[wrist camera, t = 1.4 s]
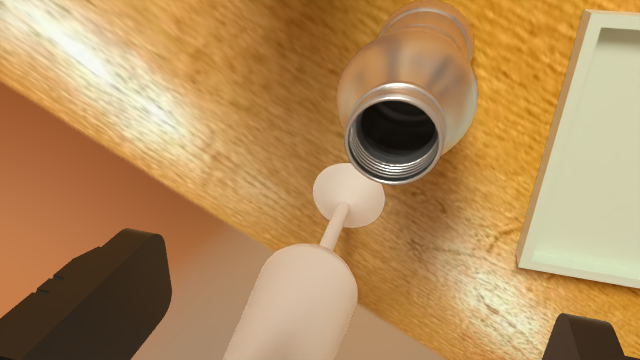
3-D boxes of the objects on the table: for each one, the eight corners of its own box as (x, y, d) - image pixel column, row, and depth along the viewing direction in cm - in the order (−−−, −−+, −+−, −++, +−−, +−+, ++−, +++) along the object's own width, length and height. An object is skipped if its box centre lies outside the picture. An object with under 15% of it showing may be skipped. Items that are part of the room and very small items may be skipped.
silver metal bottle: (481, 71, 34) (506, 201, 17) (393, 95, 37) (337, 230, 19) (461, -18, 32) (467, 26, 15) (369, 14, 34) (281, 85, 17)
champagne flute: (299, 198, 43) (154, 430, 23) (340, 148, 40) (214, 367, 19) (355, 240, 44) (264, 506, 23) (400, 194, 40) (341, 457, 20)
